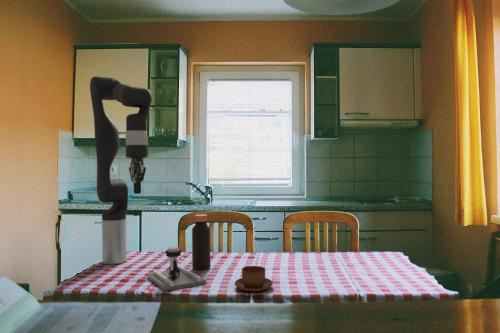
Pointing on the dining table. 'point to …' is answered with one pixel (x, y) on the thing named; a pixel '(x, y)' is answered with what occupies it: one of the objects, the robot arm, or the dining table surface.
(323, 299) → the dining table surface
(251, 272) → the cup and saucer
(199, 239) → the bottle
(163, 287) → the rail plate
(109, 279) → the dining table surface
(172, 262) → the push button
